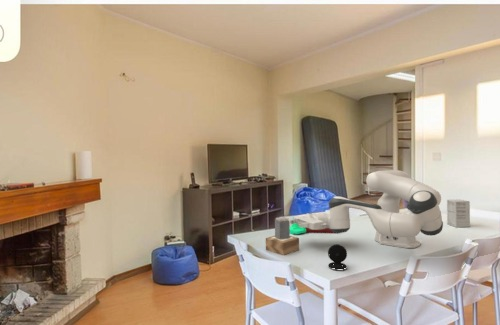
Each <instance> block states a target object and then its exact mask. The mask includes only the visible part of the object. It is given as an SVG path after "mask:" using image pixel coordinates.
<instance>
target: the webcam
mask: <svg viewBox="0 0 500 325" xmlns="http://www.w3.org/2000/svg"><path fill="white" fill-rule="evenodd" d="M327 250H328V251H327V256H328V259H329V260H330V261H332V262H329V263H328V268H329V267H331V268H335V269H344V268H346V267H348V266H347V264H345V263H343V262H344V261H345V260H346V259H347V256H348V252H347V249H346V248H345V246H343V245H341V244H338V243H337V244H333V245H332V244H331V246H330V247H329V248H328V249H327ZM333 264H334V266H332V265H333ZM341 265H343V267H342V266H341ZM346 269H347V268H346Z"/></svg>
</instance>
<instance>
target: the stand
mask: <svg viewBox="0 0 500 325" xmlns="http://www.w3.org/2000/svg"><path fill="white" fill-rule="evenodd" d="M265 250H266V251H269V252H272V253H275V254H278V255H281V256H285V255H289V254H291V253H294V252H297V251H299V250H300V238H299V237H297V236H296V237H295V236H292V235H290V238H289V239H281V240H280V239H278V238H276V237H275V235H272V236H269V237H265Z"/></svg>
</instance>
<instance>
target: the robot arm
mask: <svg viewBox="0 0 500 325" xmlns="http://www.w3.org/2000/svg"><path fill="white" fill-rule="evenodd" d="M365 182H366V185H367V187H368V188H369V189H370V190H372V191H376V192H379V193H380V192H381V193H383V194H382V195H381V197H379V199H378V200H377V203H371V202H367V201H364V200H356V199H351V198H347V197H343V196H340V195H339V196H332V198H330V200H329V201H328V209H329V211H326V212H313V213H311V212H307V213H306V214H299V215H295V217H294V216H293V217H294V219H293V218H292V219H290V220H289V224H291V225H292V224H294V223H296V224H298V225H299V227H307V228H309V229H312V230H319V229H325V228H330V230H331V231H333V232H334V233H333V234H340V233H341V234H342V233H347V232H348V231H349V230H350V229H351V217H350V208H351V209H355V210H360V211H363V212H365V213H366V215H367V216H368V218H369V220H370V222H371V224H372V226H373V228H374V229H375V231H376V233H375V237H374V241H375V242H377V243H378V244H380V245H385V246H391V247H398V248H405V249H415V248H418V247H420V246H421V241H419V240H416V239H417V238H416V236H418V235H419V234H420V233H422V234H423V235H425V236H436V235H439V234H440V233H441V232H442V231H443V228H444V222H443V216H442V211H441V209H440V206H439V205H440V204H441V202H442V196H441V194H440V192H439V191H437V190H436V189H435V188H433V187H432V186H429V185H427V184H425V183H423V182H420V181H417V179H412V178H411V177H410V176H409V174H408V173H407V172H406V171H403V170H398V169H392V170H390V169H389V170H376V171H373V172H370V173H369V174H368V175H367V176H366V180H365ZM401 199H402V200H405V201H406V202H408V203H407V204H406V209H407V211H405V212H400V205H401V203H400V202H401Z"/></svg>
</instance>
